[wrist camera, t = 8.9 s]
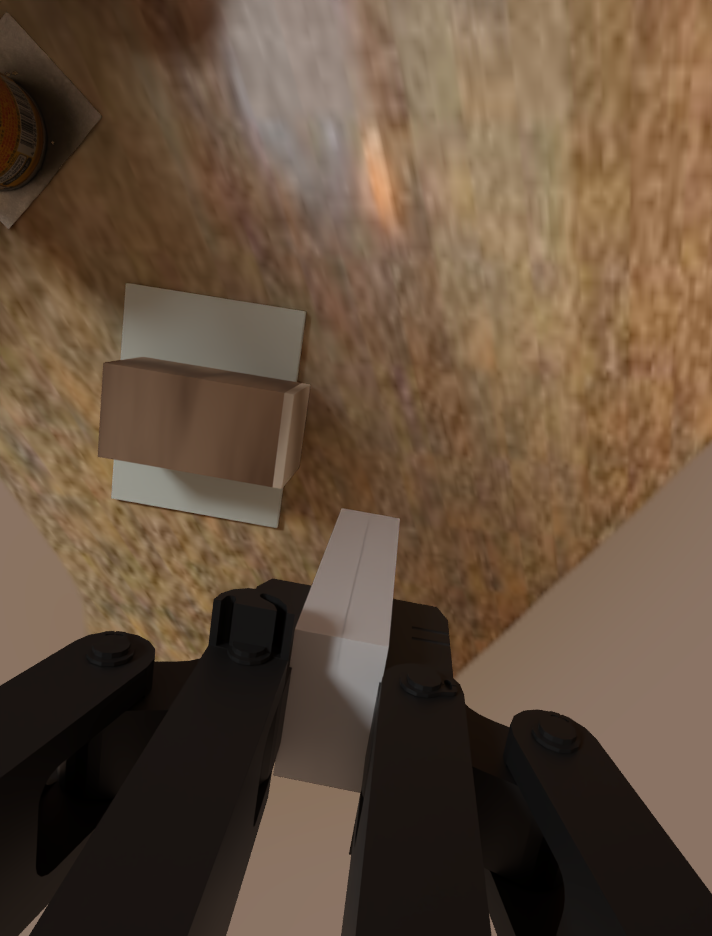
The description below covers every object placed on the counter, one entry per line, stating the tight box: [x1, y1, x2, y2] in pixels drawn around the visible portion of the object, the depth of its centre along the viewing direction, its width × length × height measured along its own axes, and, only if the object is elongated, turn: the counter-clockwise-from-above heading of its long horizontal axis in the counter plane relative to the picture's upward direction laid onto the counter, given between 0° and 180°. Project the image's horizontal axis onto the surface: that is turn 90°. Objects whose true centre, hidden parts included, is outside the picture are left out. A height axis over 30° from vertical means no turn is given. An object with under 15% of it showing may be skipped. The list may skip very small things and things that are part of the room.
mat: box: [111, 283, 306, 528], centre depth 39 cm, size 10×13×1 cm
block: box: [98, 357, 311, 489], centre depth 37 cm, size 5×5×10 cm
